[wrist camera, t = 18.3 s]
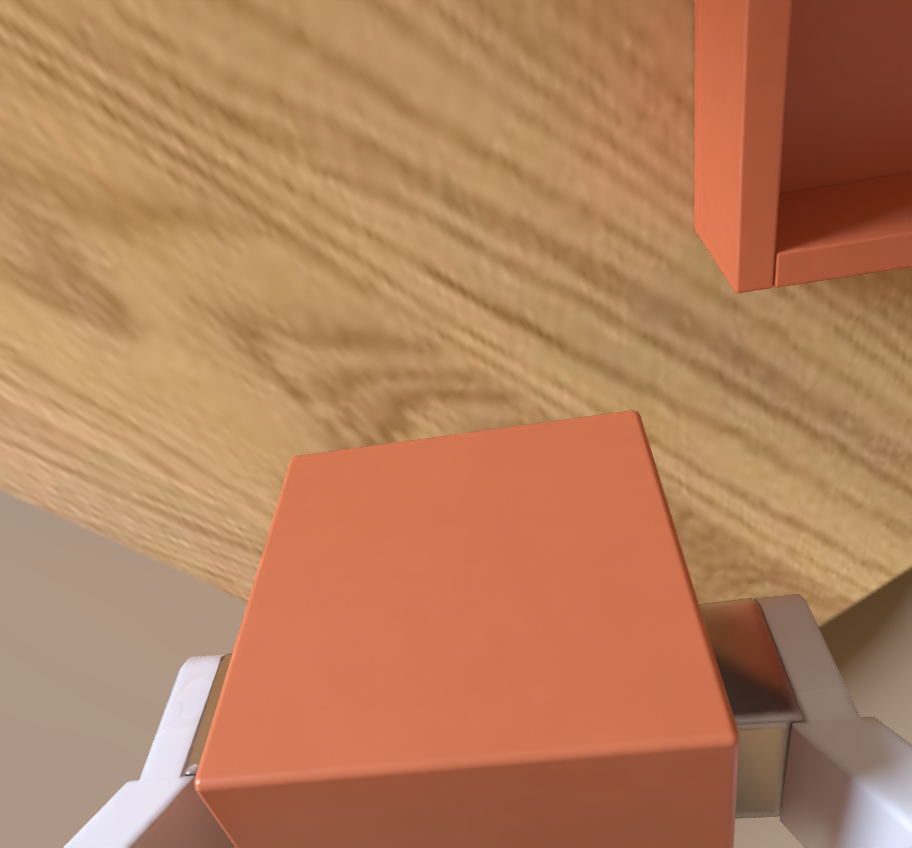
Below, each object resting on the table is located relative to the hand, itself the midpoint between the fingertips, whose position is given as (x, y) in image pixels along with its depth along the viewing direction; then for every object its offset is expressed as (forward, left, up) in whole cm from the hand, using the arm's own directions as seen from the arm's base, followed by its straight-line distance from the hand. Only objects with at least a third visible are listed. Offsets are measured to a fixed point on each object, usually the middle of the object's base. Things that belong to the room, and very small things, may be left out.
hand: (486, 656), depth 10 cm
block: (0, 0, -2) cm, 2 cm away
